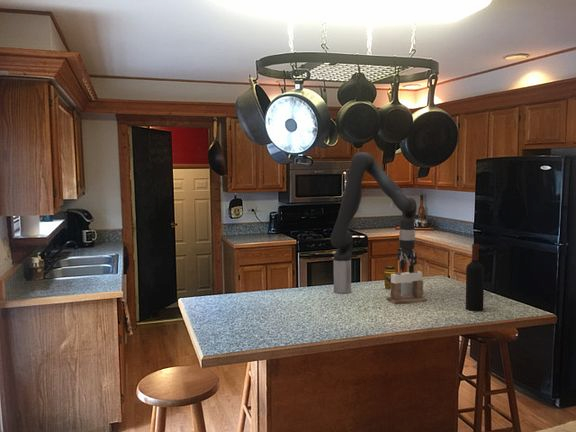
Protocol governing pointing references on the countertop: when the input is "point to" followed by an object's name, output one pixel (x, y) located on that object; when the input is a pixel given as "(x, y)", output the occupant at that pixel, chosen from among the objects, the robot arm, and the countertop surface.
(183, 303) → the countertop surface
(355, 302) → the countertop surface
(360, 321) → the countertop surface
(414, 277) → the frame bar
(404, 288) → the paw print tray
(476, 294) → the wine bottle
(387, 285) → the condiment
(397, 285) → the stand
